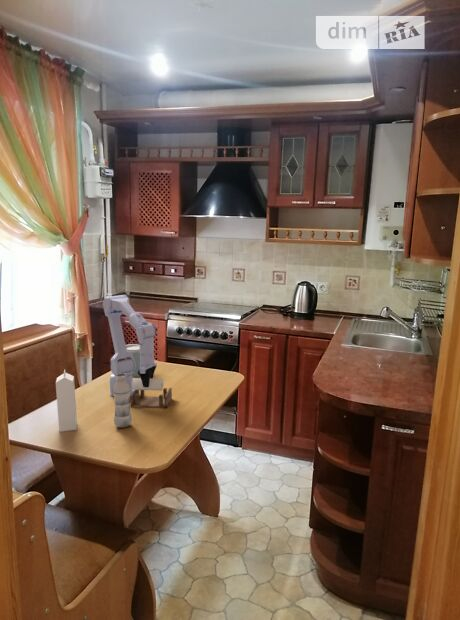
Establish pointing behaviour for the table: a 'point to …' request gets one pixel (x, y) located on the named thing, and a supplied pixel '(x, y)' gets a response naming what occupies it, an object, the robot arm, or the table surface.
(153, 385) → the cylinder
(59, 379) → the milk
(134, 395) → the holder
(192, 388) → the table surface
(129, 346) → the disposable coffee cup
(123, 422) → the plastic bottle
